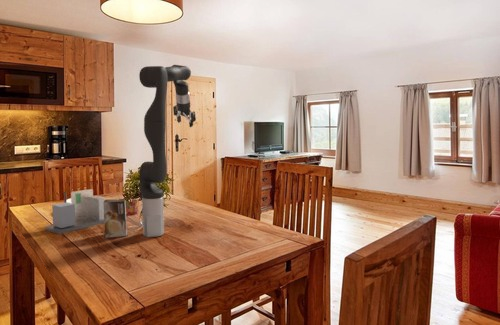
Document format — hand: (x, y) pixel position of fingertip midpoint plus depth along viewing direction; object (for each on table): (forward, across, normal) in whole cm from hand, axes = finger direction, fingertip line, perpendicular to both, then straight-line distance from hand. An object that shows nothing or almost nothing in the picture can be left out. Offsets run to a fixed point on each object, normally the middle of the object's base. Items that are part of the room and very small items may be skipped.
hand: (185, 124), depth 204 cm
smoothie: (+35, -4, -47) cm, 59 cm away
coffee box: (+14, +17, -72) cm, 76 cm away
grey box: (+18, -12, -79) cm, 82 cm away
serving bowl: (+39, -31, -58) cm, 76 cm away
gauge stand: (+21, -10, -76) cm, 79 cm away
